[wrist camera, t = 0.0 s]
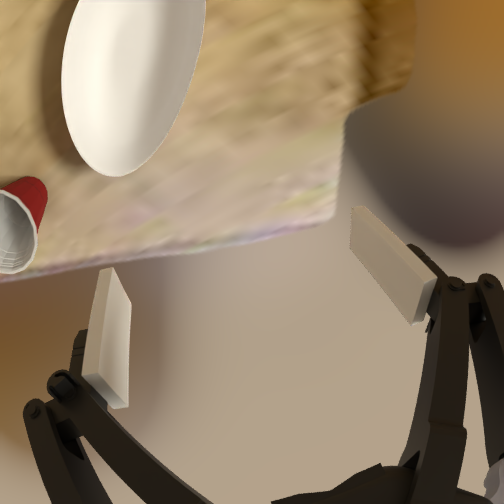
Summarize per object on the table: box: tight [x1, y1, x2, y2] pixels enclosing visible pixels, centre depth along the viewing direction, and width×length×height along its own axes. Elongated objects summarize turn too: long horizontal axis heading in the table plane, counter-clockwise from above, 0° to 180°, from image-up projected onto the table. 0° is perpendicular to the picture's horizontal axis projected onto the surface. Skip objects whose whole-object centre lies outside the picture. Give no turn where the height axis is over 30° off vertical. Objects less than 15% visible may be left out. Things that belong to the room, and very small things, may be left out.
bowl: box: [61, 0, 206, 177], centre depth 28 cm, size 30×15×6 cm, turn 167°
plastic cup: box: [0, 177, 48, 274], centre depth 32 cm, size 11×11×12 cm
